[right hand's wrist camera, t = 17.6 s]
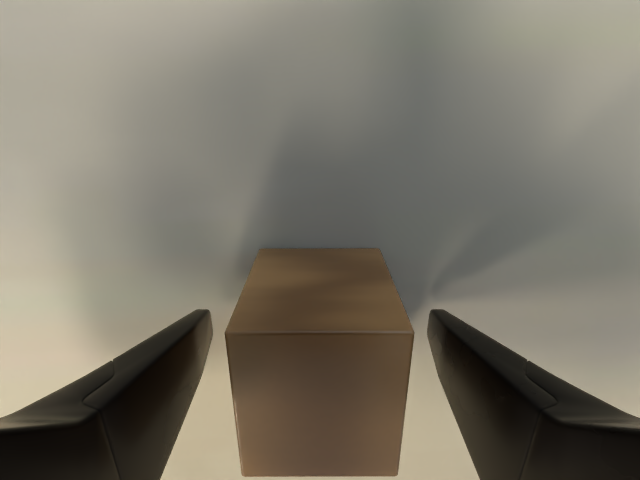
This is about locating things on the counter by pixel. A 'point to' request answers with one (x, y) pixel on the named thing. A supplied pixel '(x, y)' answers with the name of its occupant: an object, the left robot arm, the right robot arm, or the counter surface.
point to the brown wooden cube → (319, 364)
